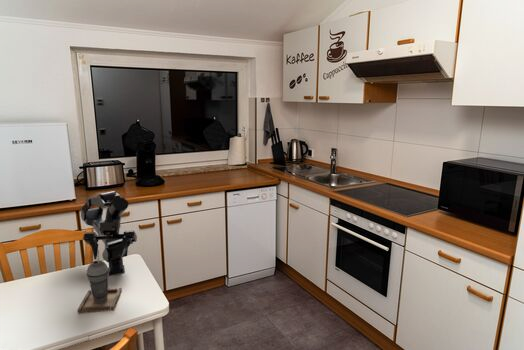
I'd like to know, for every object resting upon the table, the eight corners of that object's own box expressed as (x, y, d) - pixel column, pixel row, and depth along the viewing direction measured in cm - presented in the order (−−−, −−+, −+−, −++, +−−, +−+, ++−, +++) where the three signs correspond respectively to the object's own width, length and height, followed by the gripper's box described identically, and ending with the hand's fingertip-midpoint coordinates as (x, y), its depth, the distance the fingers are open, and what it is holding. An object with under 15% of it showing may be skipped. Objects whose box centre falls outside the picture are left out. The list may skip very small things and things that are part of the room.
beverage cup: (97, 293, 135) (92, 245, 131) (115, 295, 134) (110, 246, 129) (85, 304, 129) (79, 253, 124) (104, 307, 127) (98, 255, 122)
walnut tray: (88, 293, 136) (88, 290, 136) (121, 291, 138) (121, 288, 138) (77, 313, 125) (77, 309, 124) (114, 310, 126) (113, 306, 126)
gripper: (81, 213, 135) (74, 253, 127) (133, 211, 138) (129, 250, 130) (90, 224, 144) (84, 262, 137) (138, 222, 147) (135, 259, 139)
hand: (108, 258), depth 135 cm, fingers open, 9 cm apart
